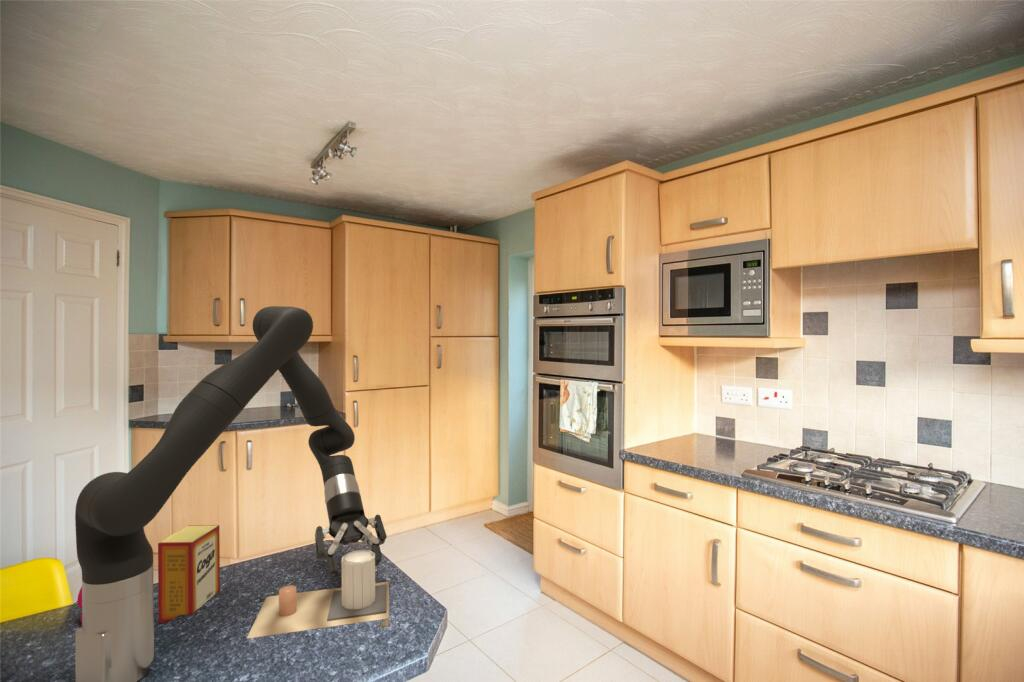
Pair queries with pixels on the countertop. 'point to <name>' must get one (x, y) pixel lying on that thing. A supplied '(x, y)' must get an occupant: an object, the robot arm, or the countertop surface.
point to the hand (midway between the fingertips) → (357, 569)
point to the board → (319, 612)
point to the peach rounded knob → (287, 600)
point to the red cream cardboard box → (188, 570)
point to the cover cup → (358, 579)
